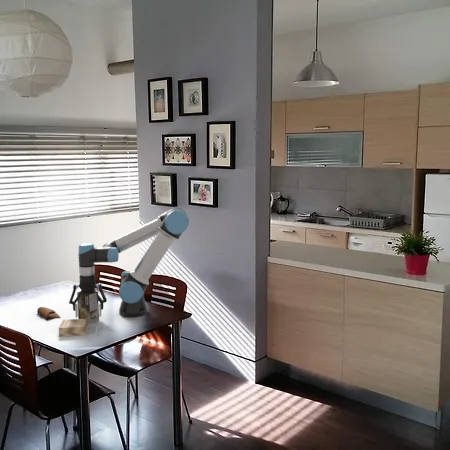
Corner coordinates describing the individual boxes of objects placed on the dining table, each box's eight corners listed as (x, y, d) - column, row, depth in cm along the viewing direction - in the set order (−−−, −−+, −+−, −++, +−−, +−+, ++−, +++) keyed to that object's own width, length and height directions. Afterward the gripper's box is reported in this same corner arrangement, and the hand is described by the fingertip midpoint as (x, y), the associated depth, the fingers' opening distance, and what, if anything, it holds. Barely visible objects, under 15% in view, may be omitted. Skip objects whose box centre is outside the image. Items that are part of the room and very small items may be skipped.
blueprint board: (103, 327, 250) (103, 324, 250) (100, 336, 236) (100, 334, 236) (61, 328, 247) (61, 326, 247) (56, 339, 233) (56, 336, 233)
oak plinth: (88, 326, 248) (88, 318, 247) (85, 334, 236) (85, 326, 235) (63, 327, 246) (63, 319, 245) (59, 336, 234) (58, 327, 234)
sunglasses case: (63, 318, 262) (56, 309, 259) (51, 327, 259) (44, 318, 256) (52, 310, 276) (45, 301, 274) (41, 318, 273) (34, 309, 271)
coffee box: (99, 322, 257) (98, 291, 254) (90, 325, 251) (89, 294, 249) (87, 319, 262) (86, 289, 259) (77, 322, 256) (76, 291, 254)
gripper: (111, 271, 258) (112, 313, 261) (64, 273, 255) (66, 314, 258) (110, 275, 251) (111, 317, 254) (61, 276, 248) (63, 319, 251)
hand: (88, 316), depth 256 cm, fingers open, 11 cm apart
